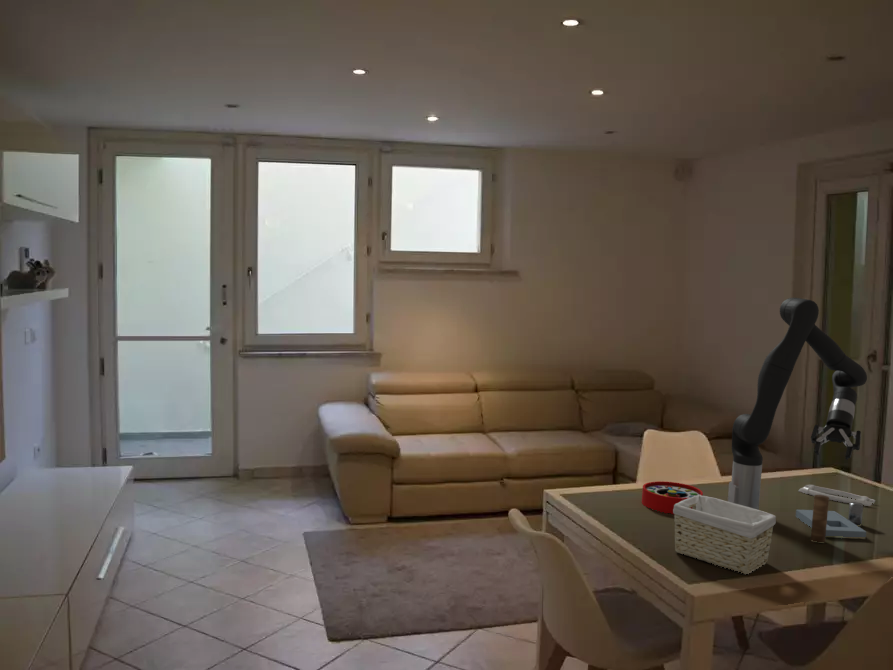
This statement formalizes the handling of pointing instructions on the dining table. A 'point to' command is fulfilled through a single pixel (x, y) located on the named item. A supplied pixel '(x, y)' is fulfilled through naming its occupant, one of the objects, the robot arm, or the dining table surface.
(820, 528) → the long pin
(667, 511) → the toy clock
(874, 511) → the dining table surface
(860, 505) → the short pin
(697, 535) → the storage basket
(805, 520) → the hole board
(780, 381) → the robot arm
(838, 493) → the door handle
